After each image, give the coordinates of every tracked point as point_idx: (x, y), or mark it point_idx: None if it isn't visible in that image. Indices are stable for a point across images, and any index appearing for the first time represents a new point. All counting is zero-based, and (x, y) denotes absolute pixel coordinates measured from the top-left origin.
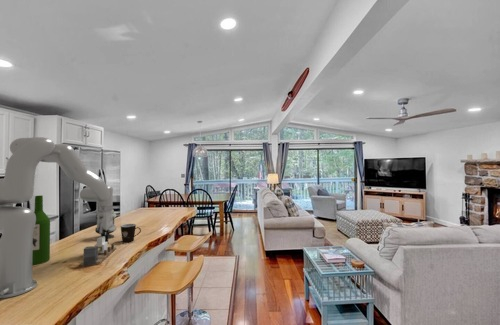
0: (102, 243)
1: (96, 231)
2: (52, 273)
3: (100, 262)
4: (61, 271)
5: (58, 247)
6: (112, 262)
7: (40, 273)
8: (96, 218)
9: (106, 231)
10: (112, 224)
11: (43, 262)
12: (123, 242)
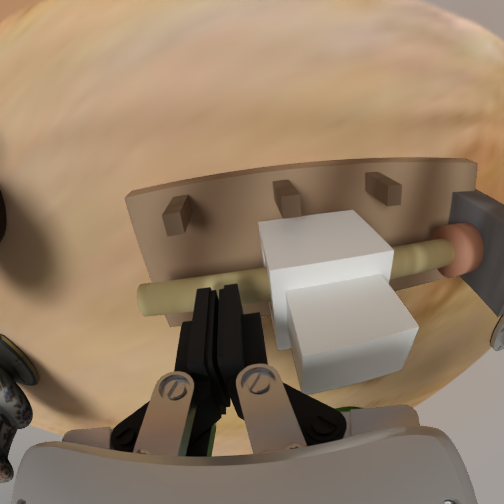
0: (373, 280)
1: (32, 416)
2: (474, 312)
3: (469, 161)
4: (473, 296)
5: None
6: (454, 87)
7: (454, 346)
8: (13, 472)
9: (260, 426)
10: (38, 483)
11: (353, 408)
12: (5, 225)
